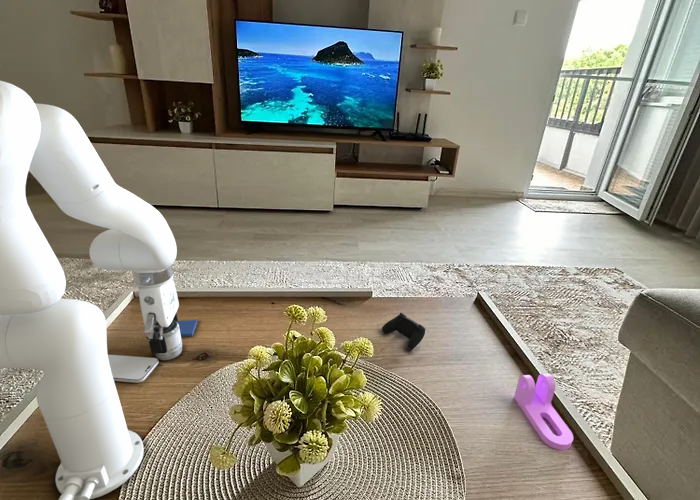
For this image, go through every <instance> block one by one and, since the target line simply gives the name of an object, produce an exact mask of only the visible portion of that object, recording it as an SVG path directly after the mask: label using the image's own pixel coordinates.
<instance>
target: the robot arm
mask: <svg viewBox="0 0 700 500" xmlns="http://www.w3.org/2000/svg"><path fill="white" fill-rule="evenodd" d="M29 173H30V174H31V175H32V176H33V177H34V178H35V180H36V181H37V183H39V184H40V185H41V187H42V188H43V190H44V191H45V192H46V193H47V194H48V195H49V196H50V198H51V199H52V200H53V201H54V203H55V204H56V205H57V206H58V208H59V209H60V210H61V212H63V213H64V214H66V215H67V216H69V217H71V218H73V219H76V220H78V221H81V222H84V223H88V224H89V225H93V226H97V227H101V228H105V229H107V230H104V231H102V232H101V233H99V234H98V235H96V237H94V239H93V240H92V242H91V243H90V246H89V251H88V253H89V258H90V260H91V263H92V264H93V265H94V266H95V267H97V268H99V269H100V270H101V269H102V270H106V271H131V272H132V277H133V282H134V286H136V287H138V297H139V304H140V311H141V317H142V321H143V324H144V332H143V333H144V335H145V337H146V339H147V341H148V344H149V348H150V352H151V353H150V354H152V355H155V354H161V353H167V346H166V341H165V337H163V327H168V326H169V325H170V324H171V322H172V320H174V321H176V322H177V323H178V321H179V318H178V309H179V307H180V302H179V297H178V293H177V288H176V284H175V280H174V273H173V268H172V266H173V264H174V263H175V261H176V259H177V255H178V253H177V252H178V249H177V248H178V247H177V242H176V239H175V236H174V233H173V231H172V230H171V228H170V226H169V224H168V222H167V220H166V219H165V217H164V216H163V214H162V213H161V212H160V211H159V210H158V209H156V207H154V206H153V205H152V204H150V203H148V202H147V201H145V200H144V199H142V198H141V197H139V196H137V195H136V194H134V193H132V192H131V191H129V190H128V189H125V188H123V187H122V186H120V185H119V184H117V183H116V182H115V180H114V178H113V177H112V176H111V173H110V172H109V170H108V169H107V167H106V165H105V164H104V162H103V160H102V159H101V158H100V156H99V154H98V152H97V151H96V149H95V147H94V146H93V144H92V142H91V141H90V139H89V138H88V136H87V134H86V133H85V131H84V129H83V128H82V125H80V123H79V121H78V120H77V119H76V118H75V117H74V116H73V115H72V114H71V113H70V112H68V111H67V110H65V109H64V108H61V107H59V106H55V105H52V104H45V103H35V102H34V100H33V99H32V97H31V96H30V95H29V94H28V93H27V92H26V91H25V90H24V89H22V88H20V87H19V86H16V85H14V84H13V83H10V82H8V81H7V82H6V81H4V80H0V369H23V370H39V371H41V372H43V374H44V377H43V378H42V379H41V381H40V382H39V384H38V386H37V388H36V401H37V406H38V408H39V411H40V412H41V415H42V417H43V420H44V422H45V425H46V428H47V431H48V432H49V435H50V438H51V440H52V443H53V445H54V447H55V450H56V453H57V455H58V457H59V460H60V464H59V466H58V468H57V470H56V473H55V478H54V479H55V485H56V488H57V491H58V492H59V494H61V495H60V496H59V498H58V500H94V499H96V498H97V499H98V498H99V497H103V496H104V495H107V494H109V493H111V492H112V491H114V490H116V489H117V488H119V487H121V486H122V485H123V484H125V483H126V482H127V481H128V480H129V479H130V478H131V477H132V476H133V474H134V473H136V471H137V470H138V468H139V466H140V465H141V463H142V460H143V457H144V452H145V449H144V443H143V440H142V438H141V437H140V435H139V434H137V433H136V432H134V431H133V430H129V428H128V426H127V423H126V419H125V415H124V411H123V408H122V404H121V401H120V397H119V393H118V390H117V386H116V383H115V381H114V379H113V376H112V372H111V368H110V364H109V359H108V354H109V353H108V352H109V351H108V338H107V335H108V333H107V332H108V331H107V329H108V328H107V319H106V317H105V314H104V312H103V311H102V310H101V308H100V307H98V306H97V305H95V304H93V303H91V302H89V301H85V300H81V299H74V298H63V296H64V294H65V292H66V286H67V278H66V274H65V272H64V269H63V267H62V265H61V263H60V261H59V259H58V257H57V255H56V254H55V252H54V250H53V248H52V246H51V244H50V243H49V242H48V239H47V238H46V236H45V235H44V233H43V231H42V229H41V227H40V226H39V224H38V222H37V220H36V219H35V217H34V215H33V212H32V211H31V208H30V206H29V204H28V200H27V196H26V186H27V180H28V174H29ZM156 322H158V323H159V324H160V325H154V324H155V323H156ZM178 324H179V323H178ZM153 328H159V334H158V333H154V330H153Z"/></svg>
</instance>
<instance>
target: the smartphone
mask: <svg viewBox="0 0 700 500" xmlns="http://www.w3.org/2000/svg"><path fill="white" fill-rule="evenodd" d="M108 359H109V364H110V368H111V372H112V376H113V379H114V382H123V383H134V384H135V383H136V384H138V383H143V382H144V381H145V380H146V379H147V378H148V376H150V374H151V373H152V372H153V371H154V370H155V368H156V367H157V366H158V364H159V363H160V362H159V359H158V358H157V357H149V356H148V357H147V356H136V355H135V356H134V355H124V354H123V355H122V354H110V353H108Z"/></svg>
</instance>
